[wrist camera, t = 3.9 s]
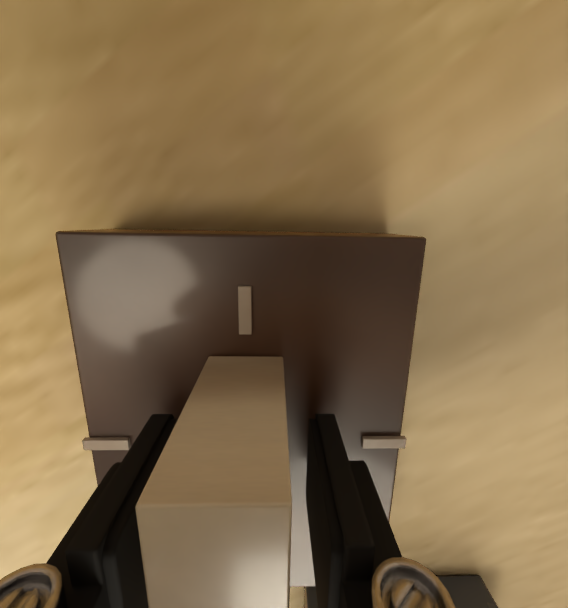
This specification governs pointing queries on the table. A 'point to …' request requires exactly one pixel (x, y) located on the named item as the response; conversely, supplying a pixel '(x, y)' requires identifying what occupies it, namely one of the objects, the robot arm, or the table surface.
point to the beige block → (222, 494)
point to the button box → (463, 589)
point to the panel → (247, 335)
